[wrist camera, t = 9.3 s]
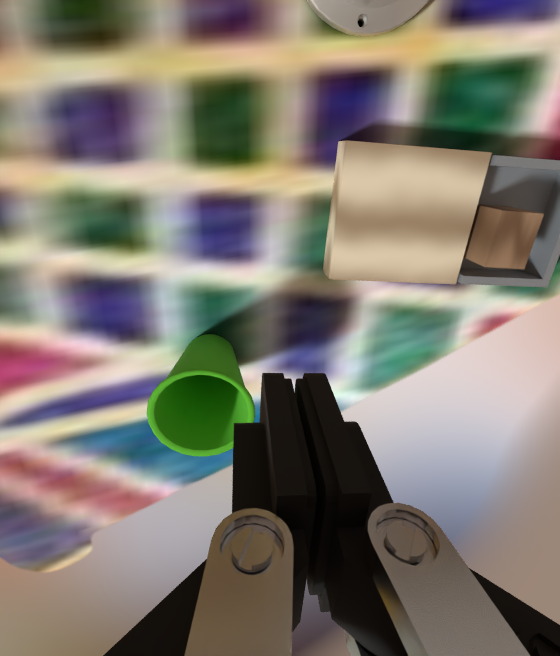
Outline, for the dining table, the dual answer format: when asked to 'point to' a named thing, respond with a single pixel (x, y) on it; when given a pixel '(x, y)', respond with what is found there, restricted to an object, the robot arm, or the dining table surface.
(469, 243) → the block
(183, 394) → the cup
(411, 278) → the board
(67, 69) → the dining table surface
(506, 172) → the bin
